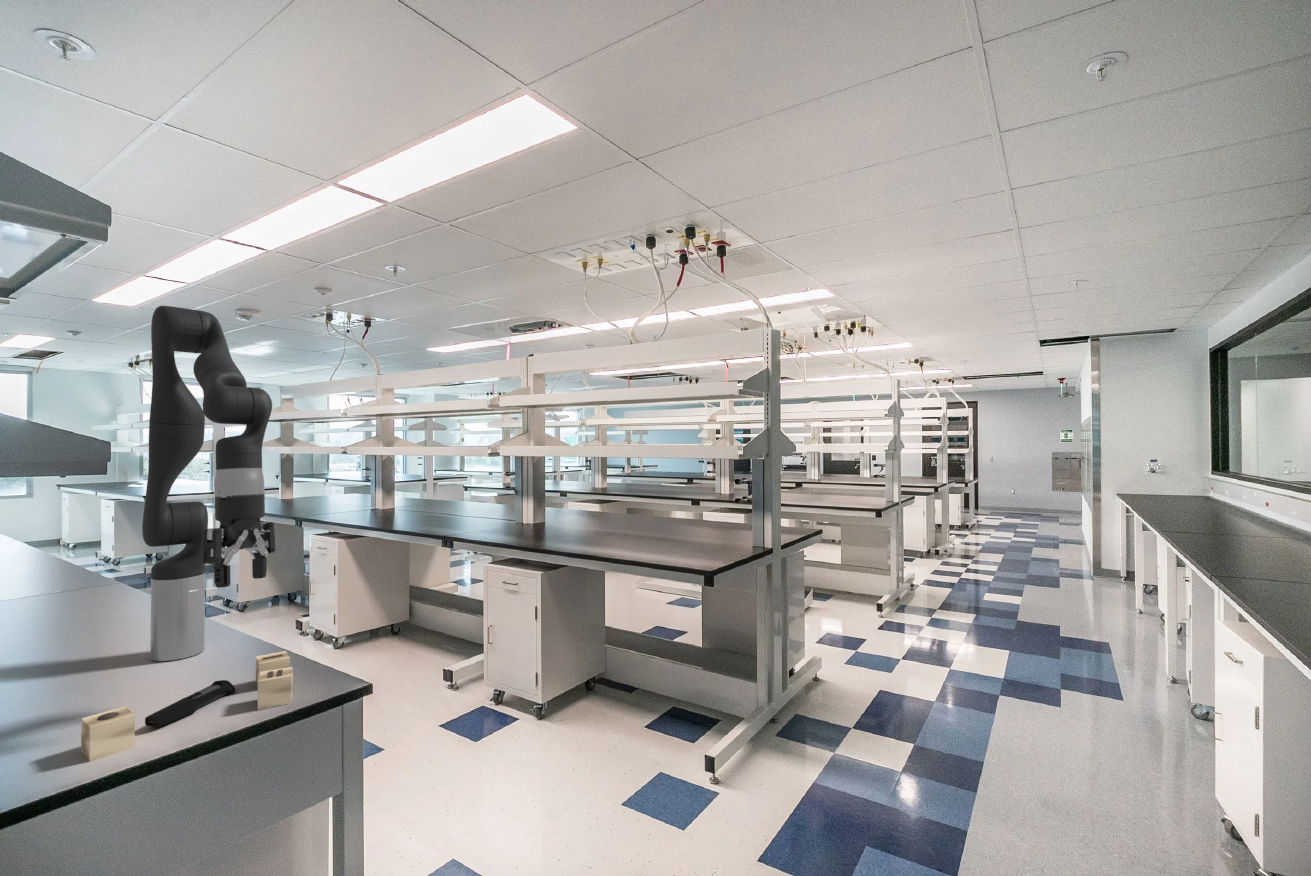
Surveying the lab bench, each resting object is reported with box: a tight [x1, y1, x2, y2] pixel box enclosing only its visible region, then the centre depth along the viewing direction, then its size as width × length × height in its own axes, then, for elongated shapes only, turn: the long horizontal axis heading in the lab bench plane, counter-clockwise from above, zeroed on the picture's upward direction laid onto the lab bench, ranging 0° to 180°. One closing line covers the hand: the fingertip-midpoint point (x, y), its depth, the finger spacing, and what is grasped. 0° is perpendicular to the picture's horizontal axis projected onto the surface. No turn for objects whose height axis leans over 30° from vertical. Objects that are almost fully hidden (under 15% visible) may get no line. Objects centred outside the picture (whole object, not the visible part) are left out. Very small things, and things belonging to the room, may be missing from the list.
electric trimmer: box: [144, 679, 236, 728], centre depth 102 cm, size 4×16×3 cm, turn 173°
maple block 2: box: [255, 650, 291, 688], centre depth 114 cm, size 5×5×5 cm
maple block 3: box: [257, 666, 294, 711], centre depth 105 cm, size 5×5×5 cm
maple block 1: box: [80, 705, 136, 762], centre depth 89 cm, size 5×5×5 cm
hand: (241, 582), depth 107 cm, fingers open, 8 cm apart
